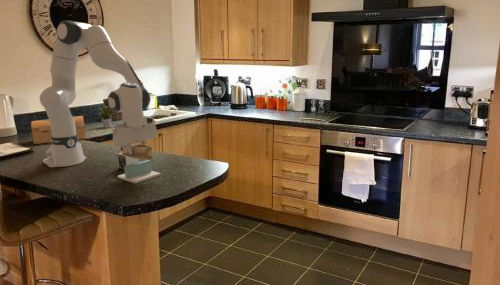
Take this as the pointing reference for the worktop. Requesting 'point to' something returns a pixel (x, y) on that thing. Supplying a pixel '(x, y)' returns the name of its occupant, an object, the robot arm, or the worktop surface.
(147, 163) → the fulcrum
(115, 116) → the plant pot
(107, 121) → the house plant
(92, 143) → the worktop surface
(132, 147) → the batten
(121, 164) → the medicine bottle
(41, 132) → the wooden box
